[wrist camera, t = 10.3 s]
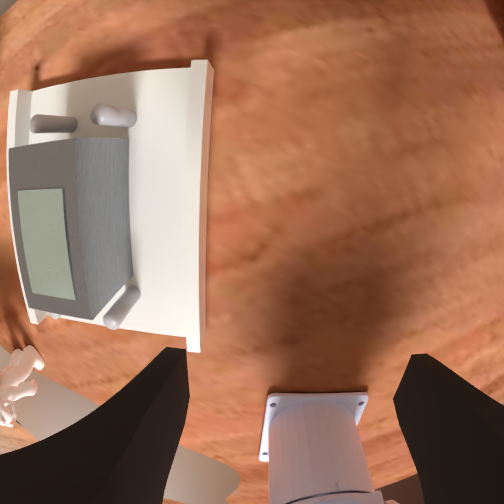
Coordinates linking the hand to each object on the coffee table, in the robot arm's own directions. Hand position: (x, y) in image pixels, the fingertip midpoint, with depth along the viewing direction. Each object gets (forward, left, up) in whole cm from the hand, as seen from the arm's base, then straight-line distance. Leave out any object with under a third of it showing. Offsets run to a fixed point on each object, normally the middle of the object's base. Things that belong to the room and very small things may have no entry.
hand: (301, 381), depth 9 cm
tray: (+3, +11, -10) cm, 15 cm away
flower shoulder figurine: (-11, +22, -10) cm, 27 cm away
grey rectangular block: (+3, +11, -9) cm, 15 cm away
